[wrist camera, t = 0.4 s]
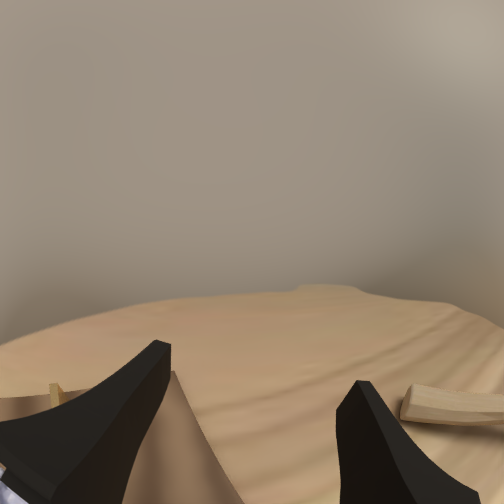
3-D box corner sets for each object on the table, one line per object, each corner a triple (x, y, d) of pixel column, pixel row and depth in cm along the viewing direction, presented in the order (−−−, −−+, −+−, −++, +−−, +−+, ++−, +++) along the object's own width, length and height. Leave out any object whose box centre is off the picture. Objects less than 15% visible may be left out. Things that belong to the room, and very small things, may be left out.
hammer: (425, 379, 22) (586, 384, 8) (426, 349, 25) (578, 361, 12) (384, 443, 28) (529, 446, 15) (390, 418, 32) (528, 425, 19)
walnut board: (10, 545, 3) (6, 545, 2) (-15, 401, 17) (-18, 398, 16) (254, 520, 16) (255, 520, 16) (174, 373, 30) (174, 370, 30)
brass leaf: (104, 504, 13) (88, 500, 11) (82, 506, 12) (65, 501, 10) (75, 400, 22) (62, 382, 20) (58, 402, 21) (43, 384, 19)
